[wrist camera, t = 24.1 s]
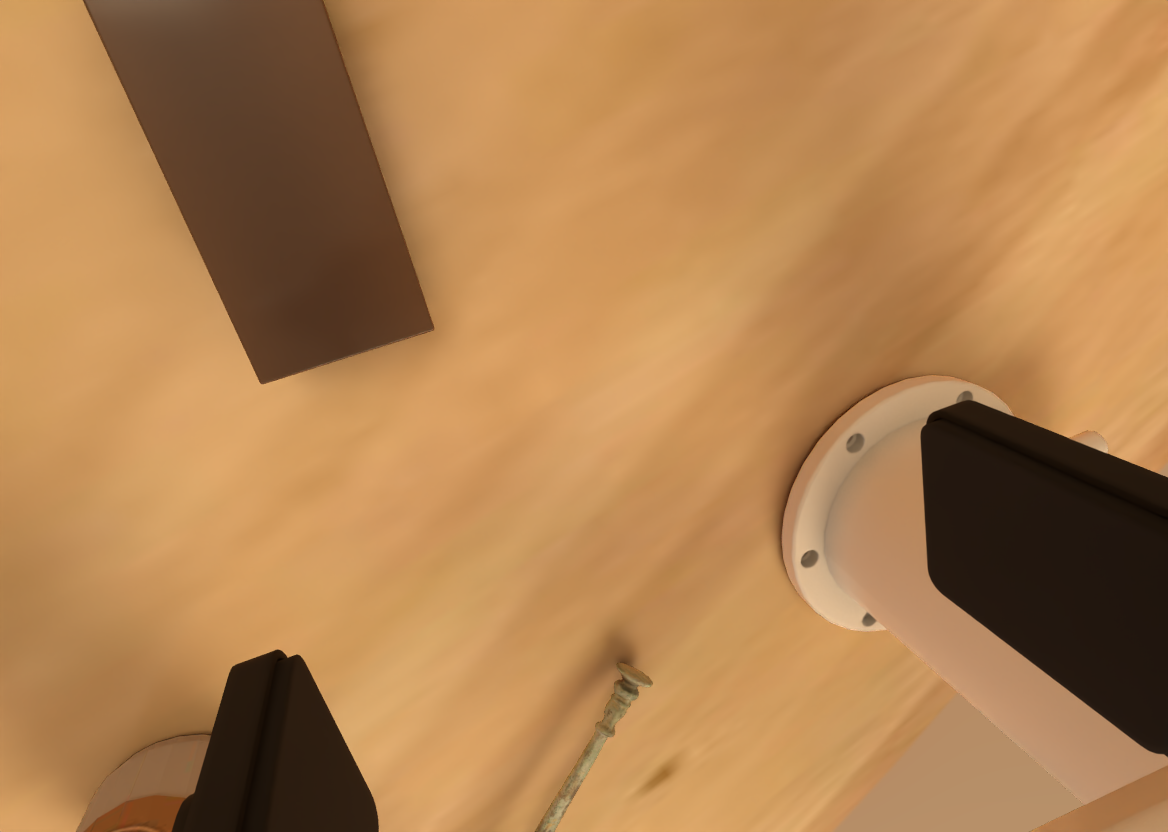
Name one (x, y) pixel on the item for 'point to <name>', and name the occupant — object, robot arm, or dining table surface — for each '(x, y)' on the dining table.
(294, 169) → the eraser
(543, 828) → the soupspoon
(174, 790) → the coffee cup
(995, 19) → the dining table surface
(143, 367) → the dining table surface
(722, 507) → the dining table surface
